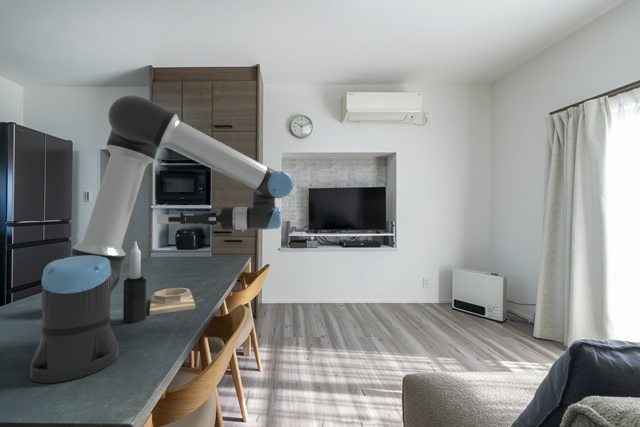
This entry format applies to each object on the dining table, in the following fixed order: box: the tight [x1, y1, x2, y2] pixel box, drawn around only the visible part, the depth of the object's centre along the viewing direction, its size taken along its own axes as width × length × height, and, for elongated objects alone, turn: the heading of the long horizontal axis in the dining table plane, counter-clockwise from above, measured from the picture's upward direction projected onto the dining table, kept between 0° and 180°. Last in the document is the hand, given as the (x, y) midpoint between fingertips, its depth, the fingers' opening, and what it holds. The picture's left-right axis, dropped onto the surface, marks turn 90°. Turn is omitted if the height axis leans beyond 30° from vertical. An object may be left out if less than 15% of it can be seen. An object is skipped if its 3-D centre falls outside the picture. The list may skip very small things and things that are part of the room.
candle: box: [122, 240, 147, 325], centre depth 92 cm, size 5×5×25 cm
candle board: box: [149, 287, 196, 316], centre depth 109 cm, size 20×14×4 cm
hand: (165, 218), depth 94 cm, fingers open, 13 cm apart
